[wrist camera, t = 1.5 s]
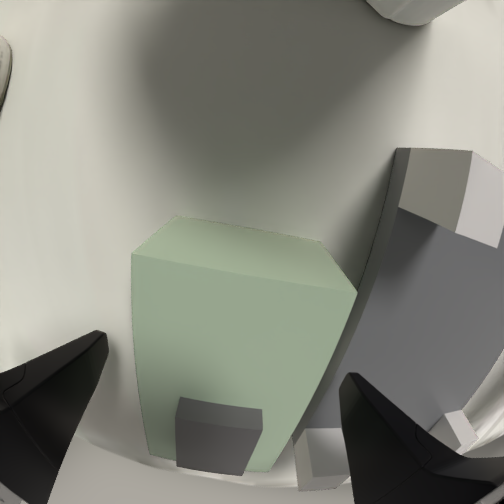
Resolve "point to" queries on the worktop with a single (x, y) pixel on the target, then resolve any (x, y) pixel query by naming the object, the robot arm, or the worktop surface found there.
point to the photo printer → (413, 10)
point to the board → (231, 340)
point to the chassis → (419, 308)
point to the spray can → (4, 66)
